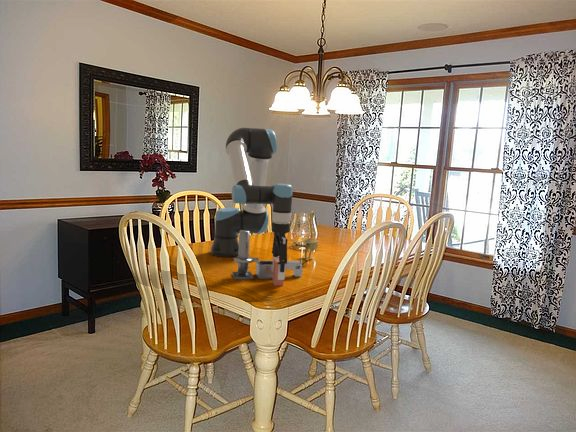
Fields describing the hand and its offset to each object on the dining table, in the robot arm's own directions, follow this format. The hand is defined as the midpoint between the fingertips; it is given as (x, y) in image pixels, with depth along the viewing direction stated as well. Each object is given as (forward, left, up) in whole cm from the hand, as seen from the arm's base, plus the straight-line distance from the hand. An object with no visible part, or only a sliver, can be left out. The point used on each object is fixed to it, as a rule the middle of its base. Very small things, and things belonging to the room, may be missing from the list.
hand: (278, 275), depth 186 cm
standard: (-11, -12, -4) cm, 17 cm away
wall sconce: (-37, +24, -4) cm, 44 cm away
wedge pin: (0, 0, -4) cm, 4 cm away
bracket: (-11, +3, -4) cm, 12 cm away
